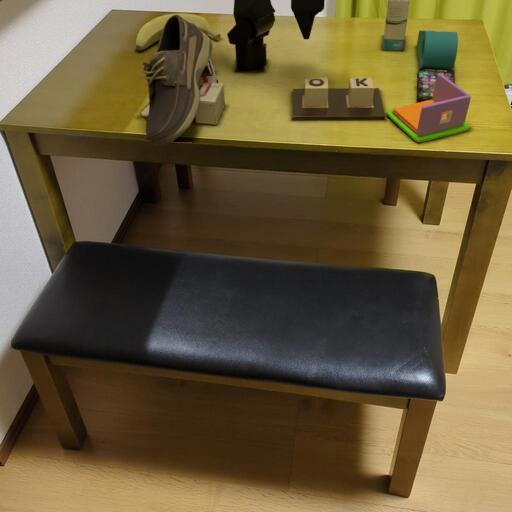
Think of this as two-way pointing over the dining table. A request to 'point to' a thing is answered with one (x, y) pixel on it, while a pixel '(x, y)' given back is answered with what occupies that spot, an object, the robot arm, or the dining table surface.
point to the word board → (337, 107)
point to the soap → (146, 111)
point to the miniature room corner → (434, 113)
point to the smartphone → (430, 81)
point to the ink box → (395, 24)
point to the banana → (155, 27)
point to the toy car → (208, 74)
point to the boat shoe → (175, 79)
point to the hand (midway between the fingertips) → (306, 29)
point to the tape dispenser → (437, 49)
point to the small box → (210, 103)
